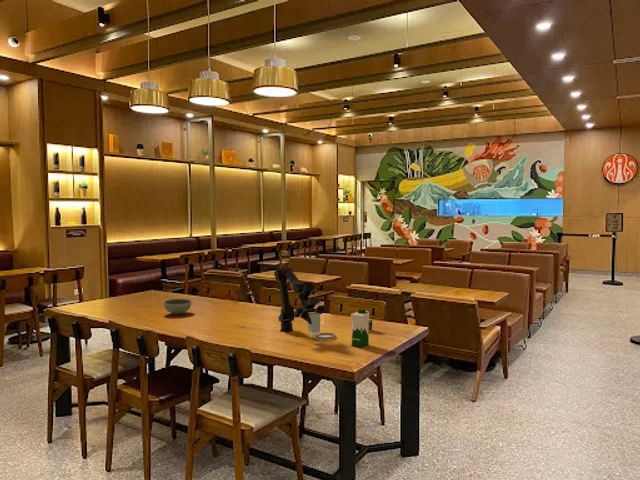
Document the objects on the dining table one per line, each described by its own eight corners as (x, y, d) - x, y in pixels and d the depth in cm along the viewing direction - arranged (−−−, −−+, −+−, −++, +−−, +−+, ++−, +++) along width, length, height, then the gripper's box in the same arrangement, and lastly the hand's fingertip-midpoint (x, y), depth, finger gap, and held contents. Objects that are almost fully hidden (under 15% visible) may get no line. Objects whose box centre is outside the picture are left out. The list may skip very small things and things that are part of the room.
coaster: (311, 338, 287) (311, 336, 287) (320, 334, 298) (320, 331, 298) (330, 341, 282) (330, 338, 282) (339, 336, 293) (339, 333, 293)
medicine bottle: (363, 332, 302) (363, 313, 301) (356, 330, 308) (356, 311, 307) (372, 330, 306) (372, 311, 306) (364, 328, 312) (364, 309, 311)
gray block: (308, 334, 279) (308, 313, 279) (315, 332, 282) (315, 312, 281) (312, 335, 275) (312, 314, 274) (320, 334, 278) (320, 313, 277)
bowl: (169, 311, 374) (168, 298, 373) (196, 311, 373) (195, 298, 373) (159, 317, 353) (158, 303, 353) (187, 316, 352) (187, 303, 352)
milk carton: (370, 344, 273) (370, 309, 272) (363, 348, 266) (362, 312, 265) (357, 342, 278) (356, 307, 277) (349, 346, 271) (348, 310, 270)
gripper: (296, 294, 276) (306, 317, 267) (324, 291, 285) (334, 313, 277) (289, 305, 283) (299, 328, 274) (317, 302, 293) (327, 324, 284)
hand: (315, 323), depth 277 cm, fingers closed on gray block, 5 cm apart
